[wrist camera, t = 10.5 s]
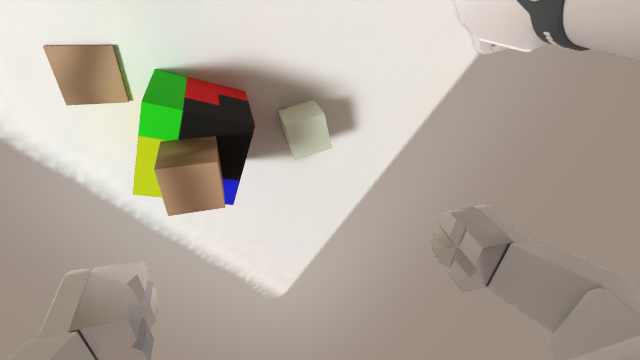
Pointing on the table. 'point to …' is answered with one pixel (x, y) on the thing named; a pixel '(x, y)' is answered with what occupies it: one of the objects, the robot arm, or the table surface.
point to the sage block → (305, 128)
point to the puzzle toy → (192, 126)
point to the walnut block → (190, 175)
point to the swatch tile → (87, 73)
